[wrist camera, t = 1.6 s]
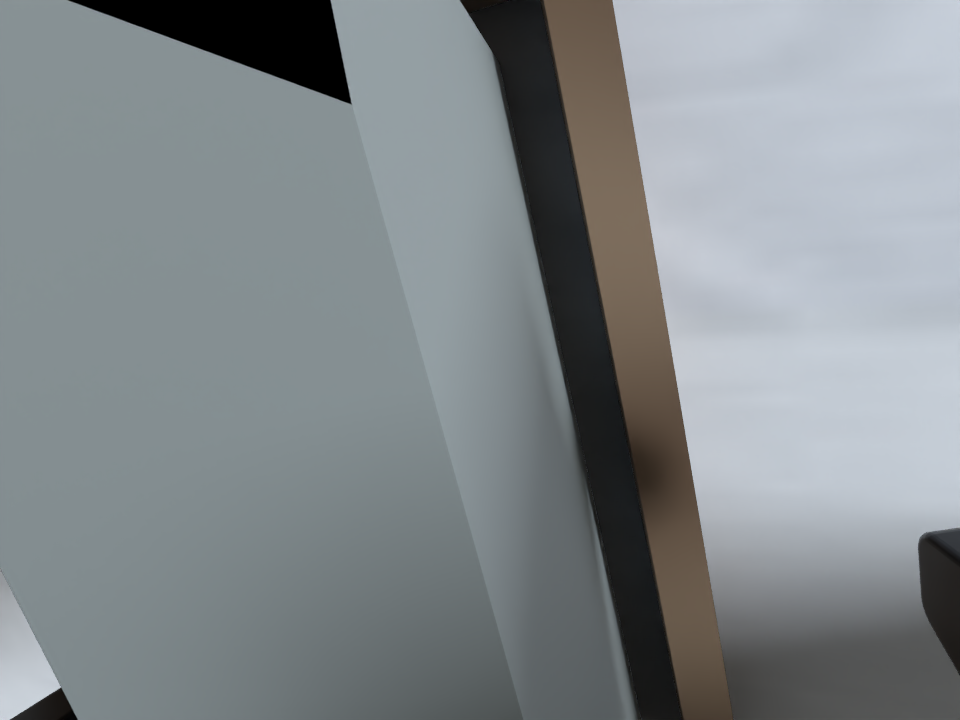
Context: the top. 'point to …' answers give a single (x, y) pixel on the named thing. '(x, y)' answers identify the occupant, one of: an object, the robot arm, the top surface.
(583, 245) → the top surface
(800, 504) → the top surface
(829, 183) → the top surface
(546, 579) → the gray rectangular panel
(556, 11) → the brown wooden tray
